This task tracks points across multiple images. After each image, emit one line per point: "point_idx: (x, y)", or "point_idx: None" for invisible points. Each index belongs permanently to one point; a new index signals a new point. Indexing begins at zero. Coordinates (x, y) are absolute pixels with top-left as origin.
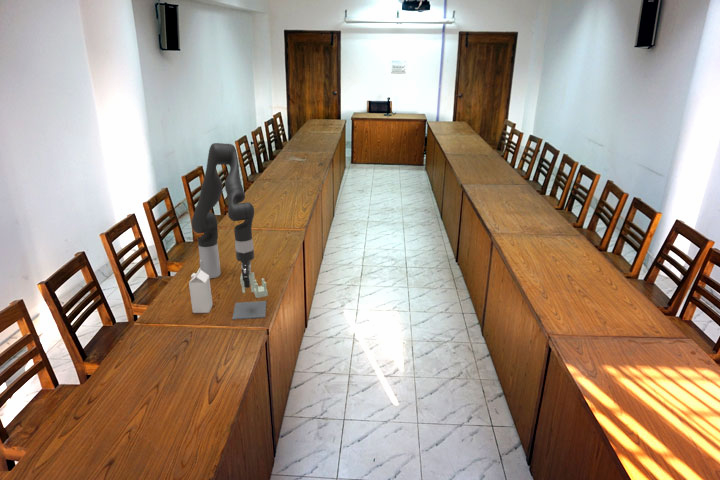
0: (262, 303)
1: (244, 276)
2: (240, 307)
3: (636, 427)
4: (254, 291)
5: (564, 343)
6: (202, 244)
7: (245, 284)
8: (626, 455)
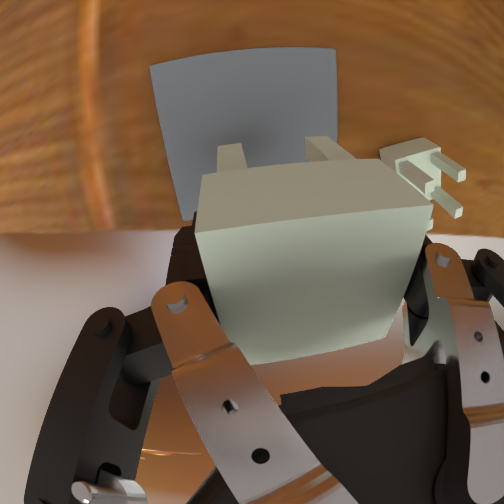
0: None
1: (195, 341)
2: (279, 79)
3: None
4: (417, 147)
5: (188, 453)
6: None
7: (171, 256)
8: None
